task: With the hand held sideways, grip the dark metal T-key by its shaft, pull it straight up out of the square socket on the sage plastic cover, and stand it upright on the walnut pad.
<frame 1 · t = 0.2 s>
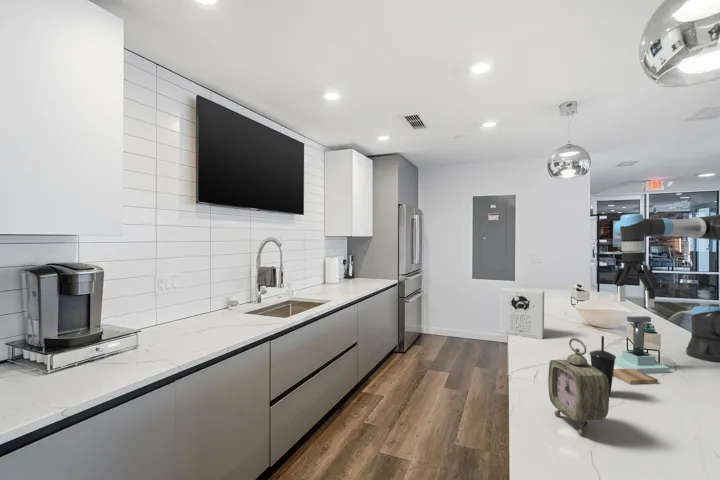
hand: (635, 304, 146), 27 cm above the table, tool pointing down, fingers open, 13 cm apart
tabletop clock: (577, 425, 104), on the table
cereal box: (521, 334, 200), on the table
drinking cup: (602, 394, 125), on the table
walnut pad: (631, 378, 139), on the table
t key: (638, 362, 151), point 2 cm above the table, touching snap cover
snap cover: (638, 366, 151), on the table
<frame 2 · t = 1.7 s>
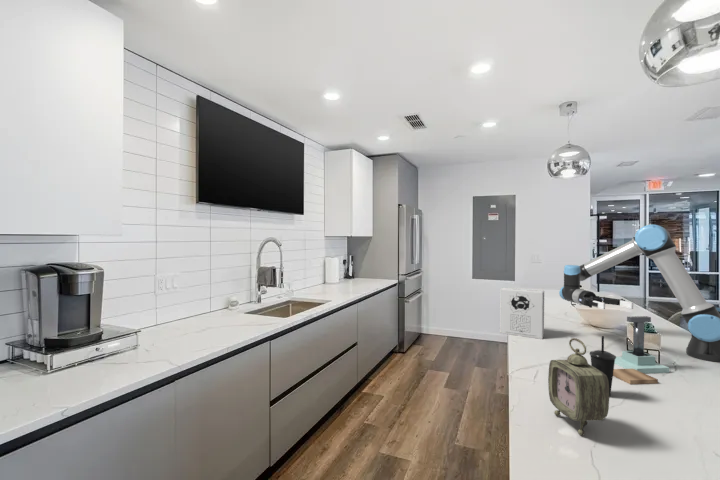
hand: (618, 306, 161), 24 cm above the table, tool horizontal, fingers open, 13 cm apart
nothing on the table moved.
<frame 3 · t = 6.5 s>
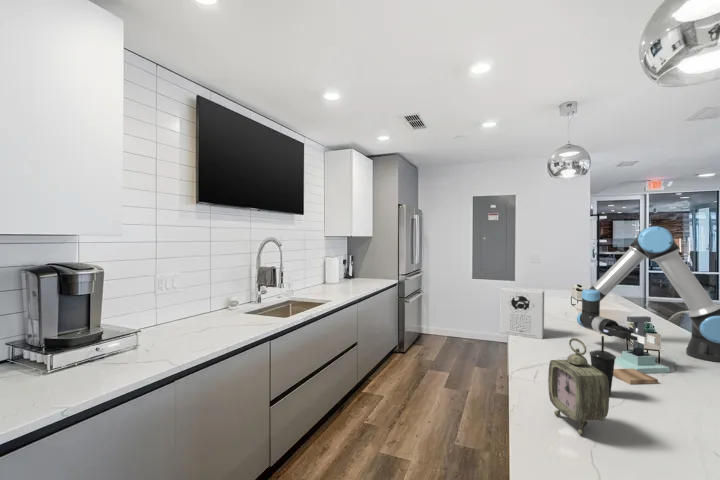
hand: (650, 340, 146), 12 cm above the table, tool horizontal, fingers closed on t key, 3 cm apart
t key: (638, 362, 151), point 2 cm above the table, touching gripper, snap cover
everything else where it was.
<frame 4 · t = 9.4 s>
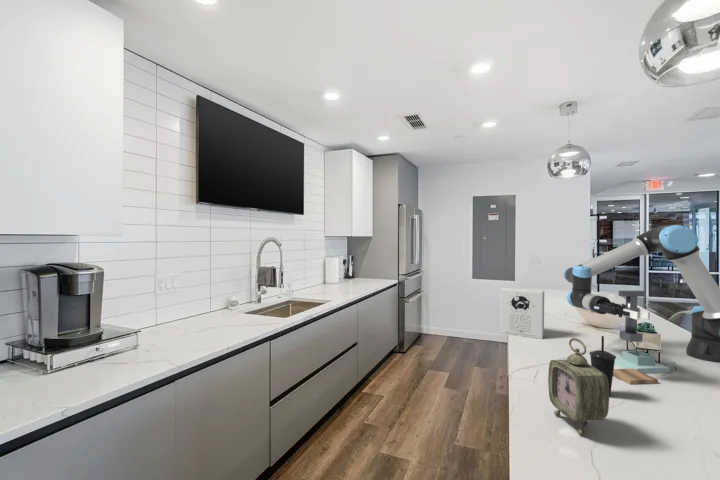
hand: (643, 315, 134), 25 cm above the table, tool horizontal, fingers closed on t key, 3 cm apart
t key: (630, 339, 139), point 15 cm above the table, touching gripper
everything else where it was.
when the fingers open (13 cm above the table, at t = 12.2 s): t key drops 1 cm, resting on walnut pad.
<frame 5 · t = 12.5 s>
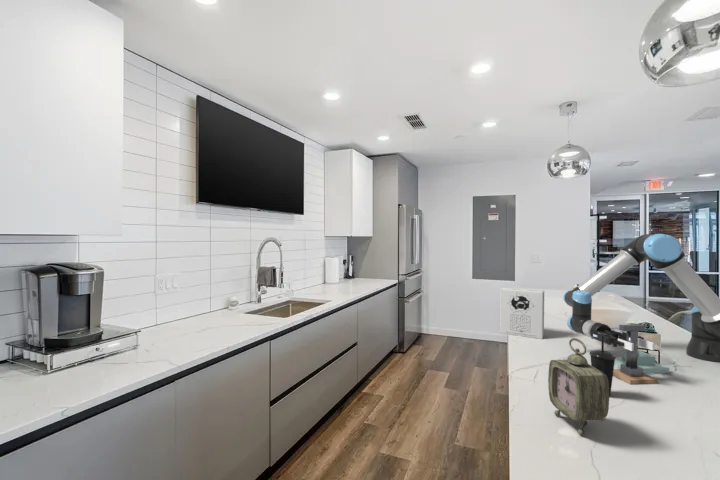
hand: (643, 347, 134), 13 cm above the table, tool horizontal, fingers open, 8 cm apart
t key: (631, 374, 139), point 1 cm above the table, touching walnut pad
everything else where it was.
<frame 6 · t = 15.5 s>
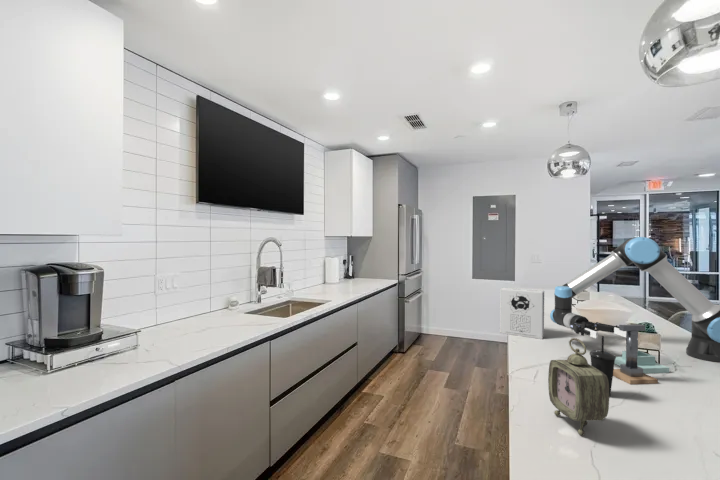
hand: (612, 334, 149), 14 cm above the table, tool horizontal, fingers open, 13 cm apart
nothing on the table moved.
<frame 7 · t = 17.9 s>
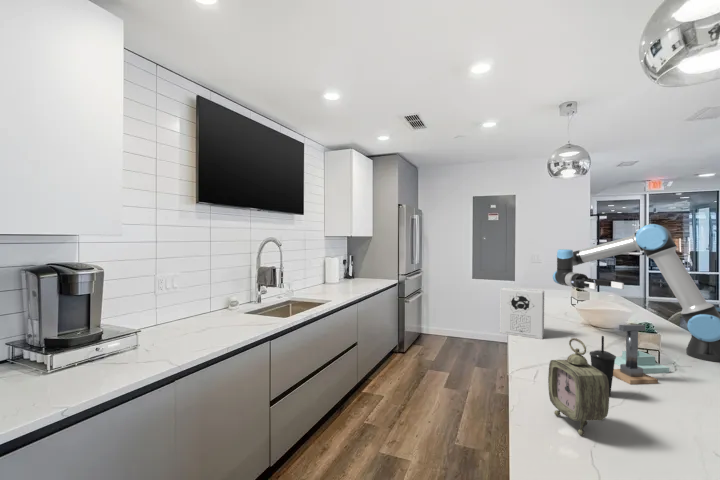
hand: (609, 286, 164), 32 cm above the table, tool horizontal, fingers open, 13 cm apart
nothing on the table moved.
at the end: t key inside the target area on the walnut pad (0.1 cm from its centre), point 1.5 cm above the walnut pad's base; t key tilted 0°; t key touching walnut pad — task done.
